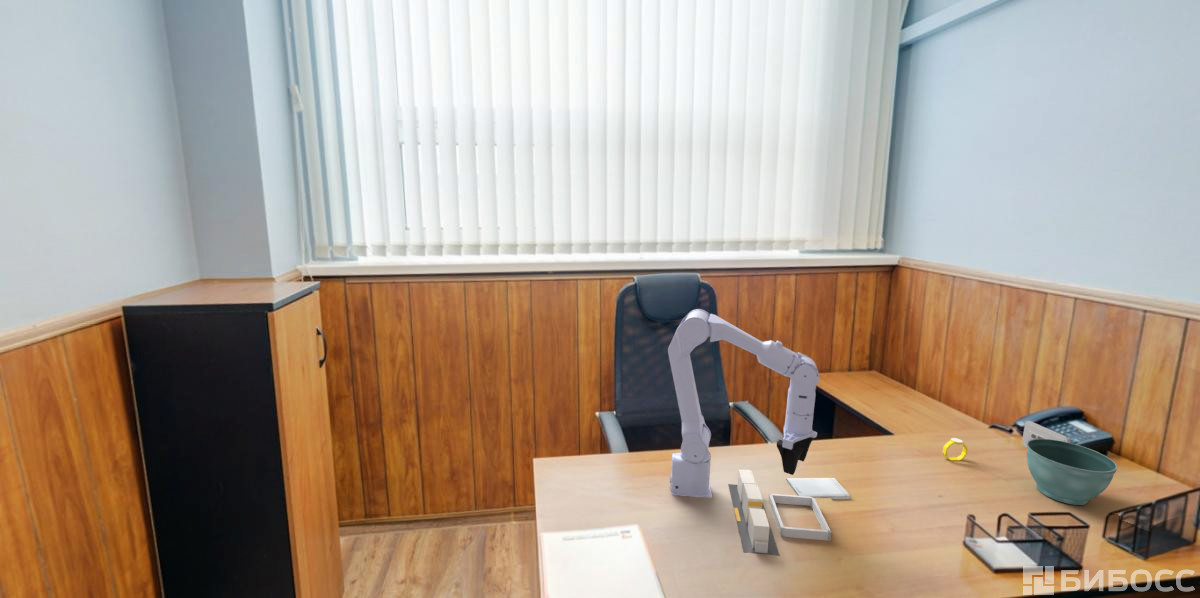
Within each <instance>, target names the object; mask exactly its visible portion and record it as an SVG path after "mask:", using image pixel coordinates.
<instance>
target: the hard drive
mask: <svg viewBox="0 0 1200 598" xmlns="http://www.w3.org/2000/svg"><path fill="white" fill-rule="evenodd" d="M785 480H786V482H787V483H788V485H790V488H792V490H793V491H794V493H795V494H796V496H809V497H814V498H830V499H831V500H850V499H851V494H850V493H849V492H848V491H847V490H846V489H845V488H844V487H843V486H842V485H841V484H840V483H839V481H838V480H837V479H836V478H835V477H800V478H799V477H796V478H795V477H794V478H793V477H787V478H785Z"/></svg>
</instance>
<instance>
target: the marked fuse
mask: <svg viewBox="0 0 1200 598" xmlns="http://www.w3.org/2000/svg"><path fill="white" fill-rule="evenodd" d="M762 502H763V496H762V494H761V491H760V488H759V485H758V483H757V484H744V489H743V503H742V509H743V513H744V516H745V520H746V523H747V524H748V519H749V508H754V509H762Z"/></svg>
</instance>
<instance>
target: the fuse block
mask: <svg viewBox="0 0 1200 598" xmlns="http://www.w3.org/2000/svg"><path fill="white" fill-rule="evenodd" d="M727 485H728V490H729V493H730V498H731V503H732V507H733V512H734V517H735V520H736V525H737V529H738V534H739V537H740V538H739V539H740V543H741V547H742V552H743V553H748V554H757V555H759V554H760V555H768V556H769V555H770V556H781V555H780V552H779V548H778V546H777V542H776V540H775V537H774V533H773V531H772V528H771V525H770V521H769V519H768V515H767V512H766V509H765V506H764V502H763V501H762V509H764V511H765V514H766V517H767V520H768V524H769V527H770V528H769V540H768V542H758V541H755V548H752V544H751V540H750V536H749V532H748V524H747V523H746V520H745V516H744V513H743V509H742V503H743V502H741V501H740V497H739V493H738V489H737V486H738V484H733V483H731V484H730V483H728V484H727Z"/></svg>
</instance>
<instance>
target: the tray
mask: <svg viewBox="0 0 1200 598" xmlns="http://www.w3.org/2000/svg"><path fill="white" fill-rule="evenodd" d="M768 504H769V507H770V510H771V512H772V516H773V518H774V521H775V525H776V527H777V530H778V532H779V536H780V537H781V538H784V537H785V538H791V539H792V538H794V539H804V540H805V539H806V540H818V541H827V542H828V541H829V542H830V541H832V538H831V537H832V531H831V529H830V527H829V525H828V522H827V520H826V519H825V517H824V515H823V513H822V511H821V509H820V506H819V504H818V503H817V500H816V497H809V496H798V495H797V494H796V495H794V494H793V495H791V494H779V493H768ZM776 504H783V505H784V504H785V505H797V506H809V507H811V509H812V510H813V513H814V515H815V517H816V519H817V522H818V523H819V525H820V528H821V529H818V528H804V527H803V528H802V527H793V526H792V527H791V526H784V523H783V521H782V518H781V516H780V513H779V510H778V507H777V505H776Z"/></svg>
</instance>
